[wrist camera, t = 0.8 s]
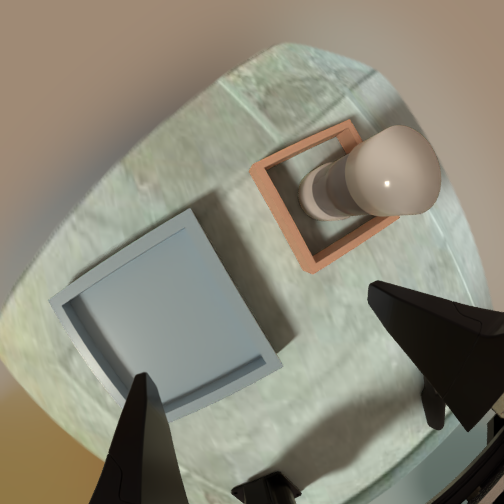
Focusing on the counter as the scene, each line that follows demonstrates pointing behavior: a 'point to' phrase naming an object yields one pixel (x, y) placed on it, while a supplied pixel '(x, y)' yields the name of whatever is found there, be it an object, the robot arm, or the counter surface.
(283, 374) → the counter surface
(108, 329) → the parts tray
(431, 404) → the electric trimmer
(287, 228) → the socket ring
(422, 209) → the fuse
